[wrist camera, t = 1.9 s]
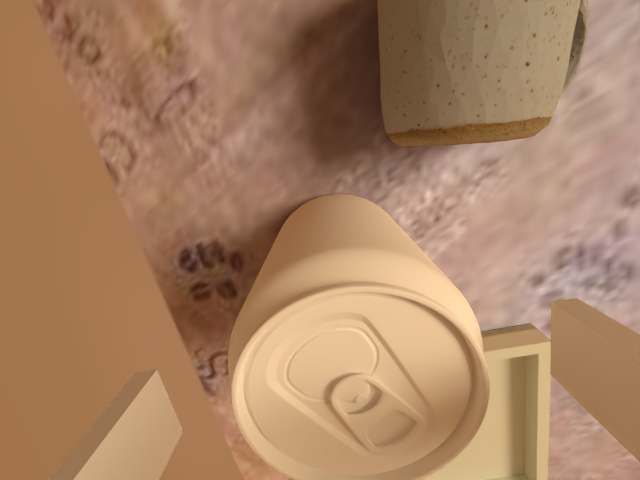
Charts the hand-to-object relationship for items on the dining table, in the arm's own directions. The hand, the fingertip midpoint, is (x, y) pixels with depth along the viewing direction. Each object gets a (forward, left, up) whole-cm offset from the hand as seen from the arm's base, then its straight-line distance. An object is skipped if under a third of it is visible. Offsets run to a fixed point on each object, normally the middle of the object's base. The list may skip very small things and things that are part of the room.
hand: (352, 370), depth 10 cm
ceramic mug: (-10, +9, -11) cm, 17 cm away
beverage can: (0, 0, -10) cm, 10 cm away
